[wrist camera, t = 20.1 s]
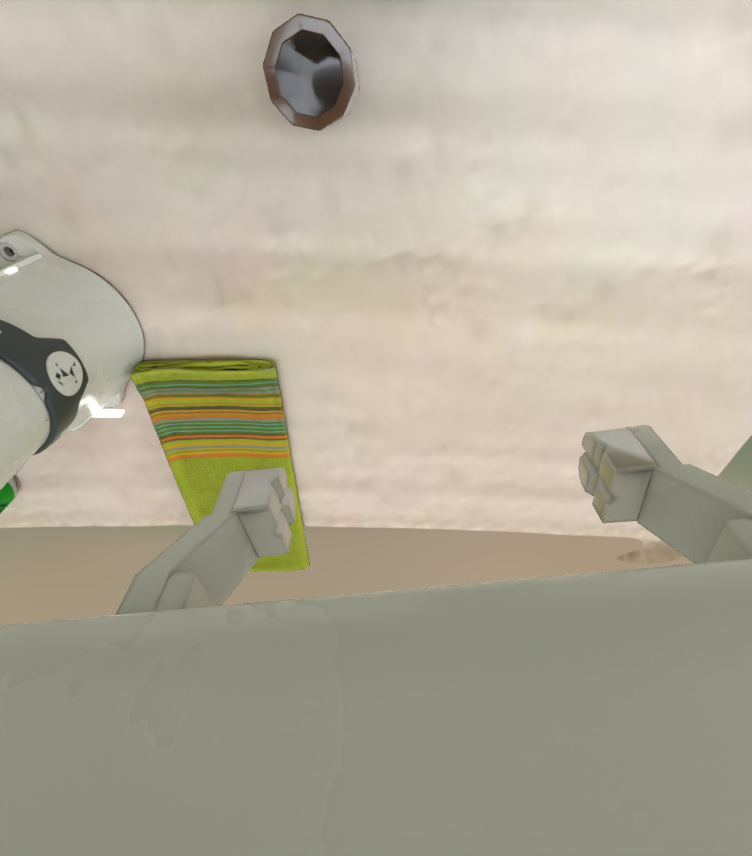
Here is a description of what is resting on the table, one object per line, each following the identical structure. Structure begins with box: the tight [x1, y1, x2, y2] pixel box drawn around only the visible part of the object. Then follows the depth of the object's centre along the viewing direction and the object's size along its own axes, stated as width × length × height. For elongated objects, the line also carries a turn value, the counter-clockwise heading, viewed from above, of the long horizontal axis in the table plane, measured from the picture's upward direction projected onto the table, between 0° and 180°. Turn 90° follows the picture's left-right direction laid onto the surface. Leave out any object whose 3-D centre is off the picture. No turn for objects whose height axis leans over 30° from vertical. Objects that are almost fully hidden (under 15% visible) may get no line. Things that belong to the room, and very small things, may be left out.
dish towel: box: [130, 360, 310, 572], centre depth 57 cm, size 15×36×3 cm, turn 1°
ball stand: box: [263, 14, 360, 131], centre depth 30 cm, size 5×5×10 cm
